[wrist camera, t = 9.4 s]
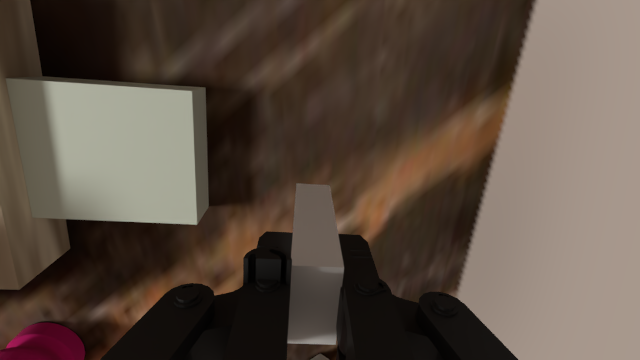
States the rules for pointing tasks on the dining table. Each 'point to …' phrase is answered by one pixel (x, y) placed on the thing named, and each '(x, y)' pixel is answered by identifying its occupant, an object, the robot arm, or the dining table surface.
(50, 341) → the pepper mill
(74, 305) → the dining table surface
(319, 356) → the die
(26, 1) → the oak board
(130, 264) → the dining table surface
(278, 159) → the dining table surface
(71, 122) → the sage block
